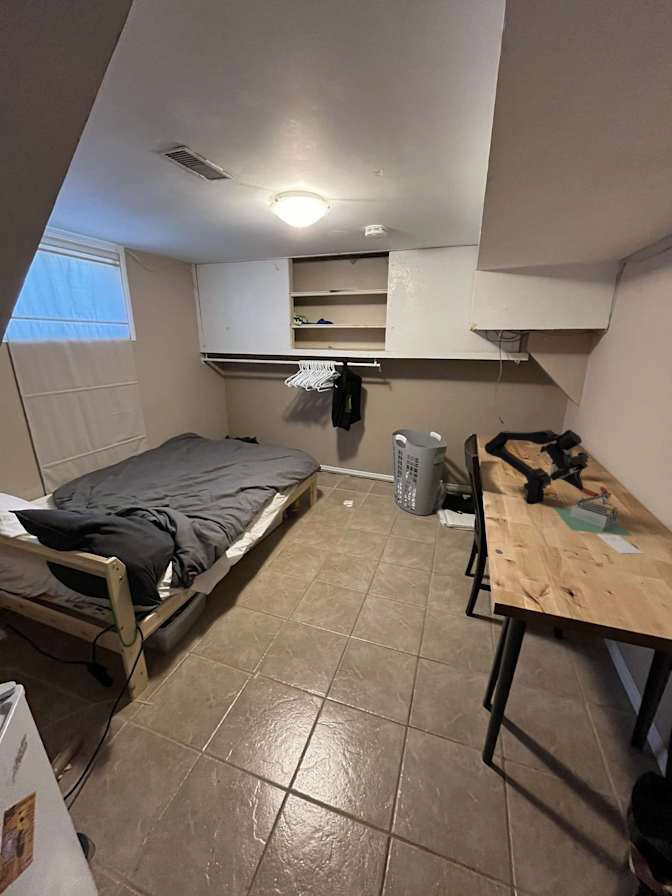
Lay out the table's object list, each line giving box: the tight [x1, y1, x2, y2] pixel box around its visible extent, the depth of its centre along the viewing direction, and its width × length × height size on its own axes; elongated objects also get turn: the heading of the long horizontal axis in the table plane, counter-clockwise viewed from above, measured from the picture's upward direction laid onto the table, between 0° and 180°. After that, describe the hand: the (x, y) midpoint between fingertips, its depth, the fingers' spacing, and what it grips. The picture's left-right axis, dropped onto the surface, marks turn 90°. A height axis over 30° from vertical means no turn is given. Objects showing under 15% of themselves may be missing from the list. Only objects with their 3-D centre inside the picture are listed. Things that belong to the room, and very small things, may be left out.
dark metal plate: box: [579, 492, 612, 503], centre depth 142 cm, size 11×3×1 cm
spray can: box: [549, 447, 575, 479], centre depth 193 cm, size 8×8×20 cm
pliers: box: [579, 486, 612, 505], centre depth 169 cm, size 12×20×3 cm, turn 164°
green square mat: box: [552, 507, 633, 537], centre depth 144 cm, size 20×20×1 cm
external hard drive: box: [597, 534, 645, 555], centre depth 128 cm, size 2×8×12 cm
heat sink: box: [569, 497, 620, 531], centre depth 143 cm, size 12×12×8 cm
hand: (582, 489), depth 145 cm, fingers closed
